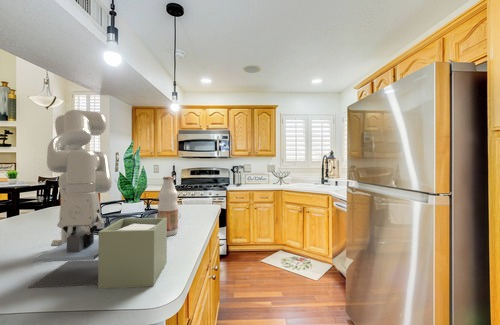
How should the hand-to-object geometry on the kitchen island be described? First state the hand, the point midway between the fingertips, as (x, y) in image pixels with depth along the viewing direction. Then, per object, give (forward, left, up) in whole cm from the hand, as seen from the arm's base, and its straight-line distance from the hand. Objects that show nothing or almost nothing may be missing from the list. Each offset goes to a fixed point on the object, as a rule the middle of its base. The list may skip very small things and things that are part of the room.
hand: (81, 245), depth 75 cm
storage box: (+18, -3, -9) cm, 20 cm away
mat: (0, 0, -9) cm, 9 cm away
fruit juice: (+18, +39, -9) cm, 44 cm away
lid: (0, 0, -2) cm, 2 cm away
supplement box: (+18, -3, -9) cm, 20 cm away
